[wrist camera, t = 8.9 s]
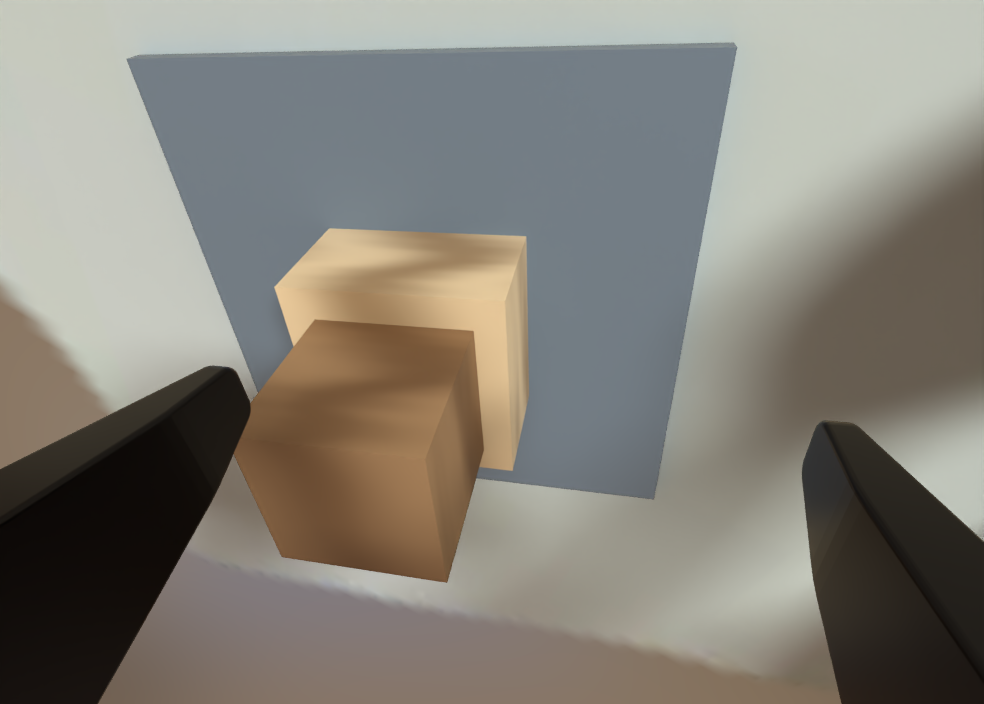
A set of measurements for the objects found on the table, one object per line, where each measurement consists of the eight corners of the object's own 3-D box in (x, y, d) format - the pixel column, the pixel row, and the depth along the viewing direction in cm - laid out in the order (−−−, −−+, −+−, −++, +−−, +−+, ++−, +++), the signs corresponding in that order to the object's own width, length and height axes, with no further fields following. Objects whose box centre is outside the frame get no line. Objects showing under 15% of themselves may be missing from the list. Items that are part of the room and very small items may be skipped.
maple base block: (526, 236, 19) (505, 301, 16) (529, 395, 23) (512, 471, 20) (329, 228, 20) (274, 287, 17) (365, 380, 25) (327, 449, 22)
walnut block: (473, 330, 17) (424, 459, 13) (483, 449, 20) (447, 582, 16) (314, 319, 18) (225, 436, 14) (347, 434, 21) (282, 557, 17)
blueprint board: (734, 42, 15) (737, 47, 15) (653, 488, 26) (653, 499, 26) (139, 54, 19) (126, 58, 18) (288, 446, 29) (282, 454, 29)
